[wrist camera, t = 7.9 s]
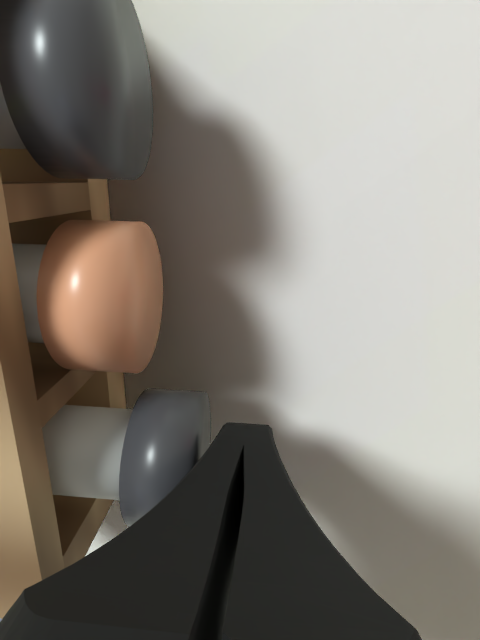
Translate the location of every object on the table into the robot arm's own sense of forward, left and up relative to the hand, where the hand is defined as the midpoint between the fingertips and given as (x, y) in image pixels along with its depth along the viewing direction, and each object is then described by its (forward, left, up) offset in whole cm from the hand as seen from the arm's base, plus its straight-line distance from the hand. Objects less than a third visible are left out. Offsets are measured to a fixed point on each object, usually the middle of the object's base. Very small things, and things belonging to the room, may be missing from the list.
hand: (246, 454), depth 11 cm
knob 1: (+5, +9, -2) cm, 11 cm away
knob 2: (-2, +4, -1) cm, 5 cm away
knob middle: (+1, +7, -1) cm, 7 cm away
